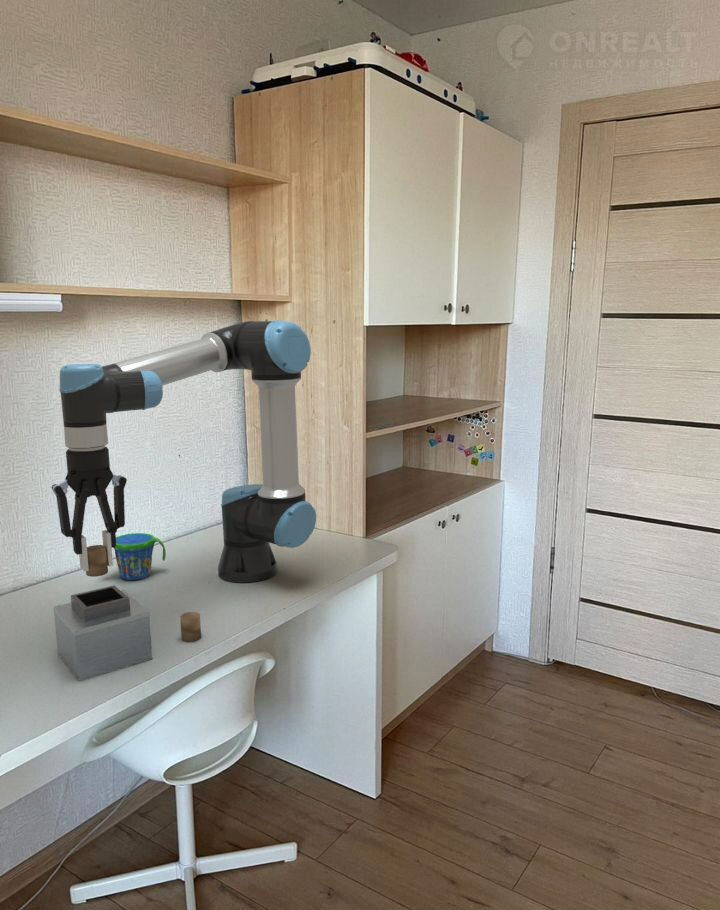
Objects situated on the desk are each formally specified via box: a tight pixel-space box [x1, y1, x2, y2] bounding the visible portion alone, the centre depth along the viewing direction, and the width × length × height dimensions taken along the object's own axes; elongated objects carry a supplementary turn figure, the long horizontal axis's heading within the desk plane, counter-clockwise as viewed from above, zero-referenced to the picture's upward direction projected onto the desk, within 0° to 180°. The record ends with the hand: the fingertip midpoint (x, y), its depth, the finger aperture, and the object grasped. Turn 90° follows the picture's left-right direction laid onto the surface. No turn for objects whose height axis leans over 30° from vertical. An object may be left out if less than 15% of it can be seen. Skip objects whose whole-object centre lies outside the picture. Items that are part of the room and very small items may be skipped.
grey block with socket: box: [53, 584, 153, 682], centre depth 140 cm, size 14×14×12 cm
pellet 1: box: [85, 544, 109, 578], centre depth 138 cm, size 4×4×5 cm
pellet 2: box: [179, 611, 202, 643], centre depth 149 cm, size 4×4×5 cm
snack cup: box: [112, 532, 167, 581], centre depth 184 cm, size 16×10×10 cm
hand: (96, 566), depth 138 cm, fingers closed on pellet 1, 4 cm apart
